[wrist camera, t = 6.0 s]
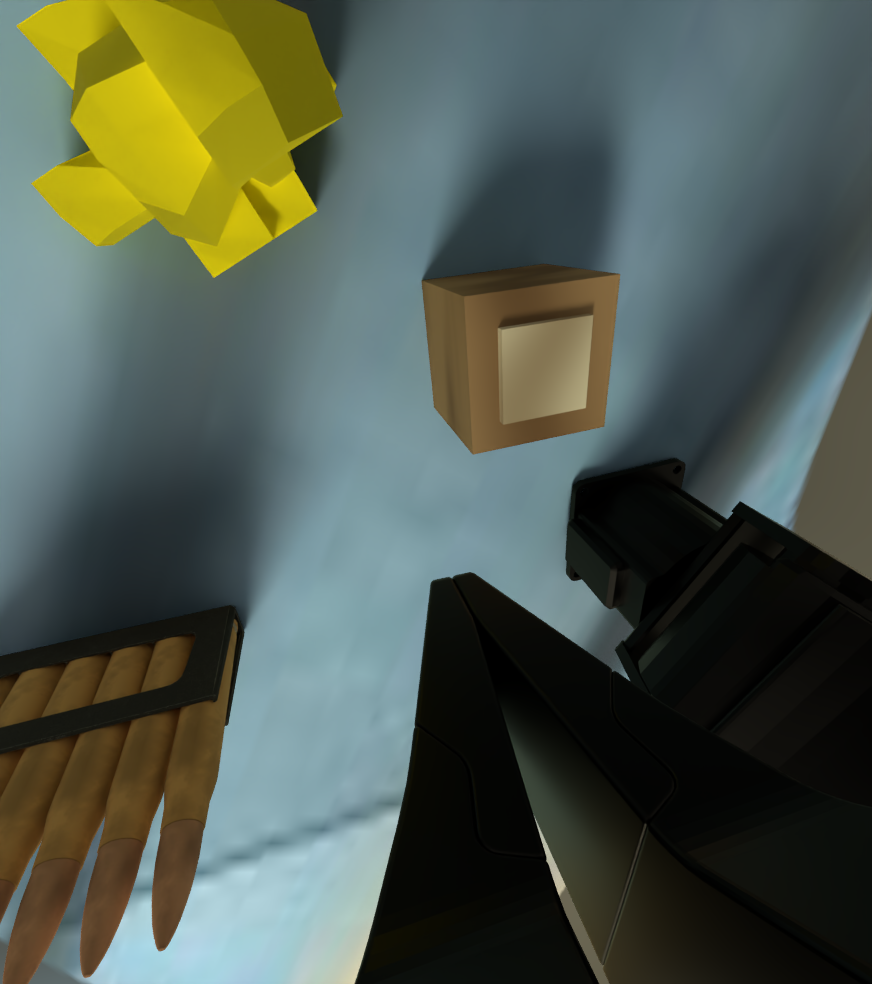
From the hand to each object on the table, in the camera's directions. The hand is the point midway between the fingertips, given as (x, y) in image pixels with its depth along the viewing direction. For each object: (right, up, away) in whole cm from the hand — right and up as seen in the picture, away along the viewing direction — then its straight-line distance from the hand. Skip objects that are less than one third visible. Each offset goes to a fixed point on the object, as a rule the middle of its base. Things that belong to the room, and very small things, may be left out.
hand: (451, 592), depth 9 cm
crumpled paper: (-7, +12, +5) cm, 15 cm away
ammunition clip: (-15, -5, +12) cm, 20 cm away
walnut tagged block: (+2, +8, +10) cm, 13 cm away
